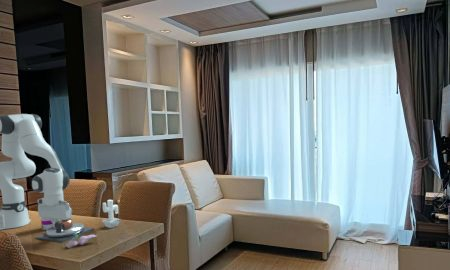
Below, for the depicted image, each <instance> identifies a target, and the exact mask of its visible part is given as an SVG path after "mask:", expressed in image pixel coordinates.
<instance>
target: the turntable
mask: <svg viewBox="0 0 450 270" xmlns="http://www.w3.org/2000/svg"><path fill="white" fill-rule="evenodd" d="M72 223H73V227H72V228H70V229H67V230H63V222H57V223H56V227H51V228H49V229H48V230H45V231H46V232H45V233H47V236H48V237H64V236H70V235H74V234H77V233H79V232H81V231H83V230H84V227H85V225H84V223H81V222H72Z"/></svg>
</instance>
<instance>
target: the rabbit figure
mask: <svg viewBox="0 0 450 270" xmlns="http://www.w3.org/2000/svg"><path fill="white" fill-rule="evenodd" d="M74 236H75V237H74V238H72V239H70V240H68V242H67V243H64V244H62V248H63V250H65V248H67V249H72V248H73V247H74V246H77V245H78V244H79V245H81V246H83V245H84V244H86V243H87V242H88V241H89V240H90V239H92V238H97V234H96V235H95V234H89V235H81V236H78V235H74ZM78 237H79V238H78ZM77 239H78V241H77Z"/></svg>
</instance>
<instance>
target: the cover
mask: <svg viewBox="0 0 450 270" xmlns="http://www.w3.org/2000/svg"><path fill="white" fill-rule="evenodd" d="M58 222H63V230H67V229H70V228H72V227H73V223H74V222H73V219H72V218H71V219H67V220H61V219H59V221H58Z"/></svg>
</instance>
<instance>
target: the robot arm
mask: <svg viewBox="0 0 450 270" xmlns="http://www.w3.org/2000/svg"><path fill="white" fill-rule="evenodd" d="M42 126H43V121H42V119H41V116H39V115H38V114H34V113H31V114H28V113H19V114H17V113H16V114H5V115H0V134H2V135H1V149H0V150H1V153H2V154H3V156H5V157H7V158H11V160H10V161H9V160H8V161H7V160H6V161H0V191H1V198H2V199H1V200H2V203H0V231H2V230H8V229H14V228H20V227H23V226H24V227H25V226H27V225H28V224H30V222H31V221H32V220H31V219H30V215H29V211H28V208H27V207H26V206H27V203H26V200H25V191H24V187H23V186H21V185H19V184H17V183H16V184H15V183H14V182H13V180H14V179H15V180H17V179H22V178H27V177H31V176H33V175H34V174H35V173H36V169H37V167H36V164H35V162H34V161H33V160H32V159H30V158H28V157H27V154H29V155H31V156H37V157H41V158H43V159H45V160H46V161H47V162H48V165H49V166H50V167H48V168H45V169H44V170H43V171H42V173H40V174H37V175H35V176H34V177H33V178H32V179H31V189H32V190H33V191H34V192H35V193H37V194H41V193H42V194H43V197H42V198H38V199H37V204H38V206H37V212H38V217H40V218H41V217H45V218H51V221H52V223H53V227H56V223H57V222H58V221H60V220H67V219H70V218H71V219H72V214H71V209H70V208H71V206H70V203H69V202H68V200H67V201H66V200H64V190H66V188H67V187H68V186H69V185H70V182H71V181H70V180H71V179H70V176H69V174H68V173H67V171H66V170H65V169H64V167H63V164H62V162H61V161H60V159H59V157H58V154H57V153H56V151H55V149H54V148H53V146H51V145H50V144H49V143H47V142H46V140H45V138H44V137H43V136H44V135H43V133H42V131H41V129H42ZM25 153H27V154H25Z"/></svg>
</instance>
